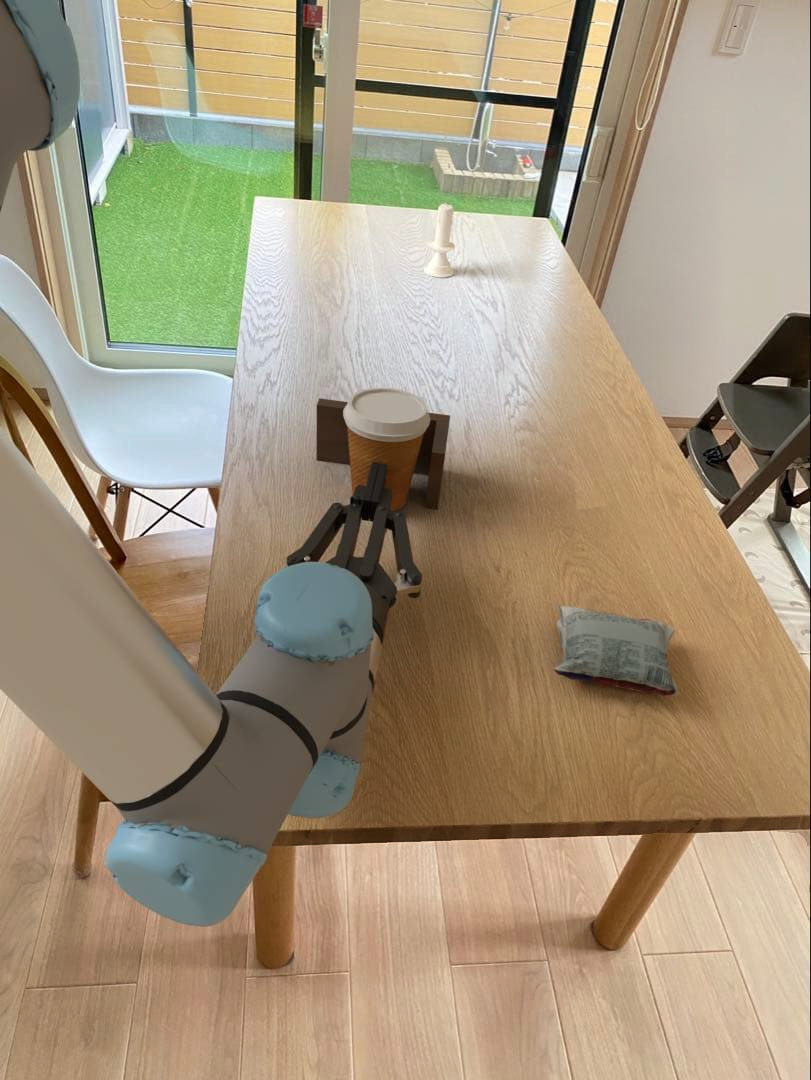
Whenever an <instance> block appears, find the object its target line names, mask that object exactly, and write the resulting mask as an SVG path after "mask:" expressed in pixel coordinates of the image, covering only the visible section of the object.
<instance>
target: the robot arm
mask: <svg viewBox="0 0 811 1080" xmlns="http://www.w3.org/2000/svg"><path fill="white" fill-rule="evenodd" d="M60 8H61V7H60V4H59V0H0V212H1V211H2V208H3V204H4V201H5V197H6V195H7V190H8V187H9V184H10V181H11V177H12V173H13V171H14V167H15V166H16V163H17V162H18V160H19V159H20V158H21V156H23V155H24V154H25V153H26V152H27V151H29V152H37V151H42V150H45V149H47V148H49V147H50V146H52V145H53V143H54V142H55V141H56V140H57V138H60V137H61V136H62V135H64V134H65V133H66V132H67V130H68V129H69V127H71V125H72V123H73V121H74V119H75V117H76V114H77V112H78V109H79V108H78V107H79V101H80V93H81V72H80V62H79V56H78V52H77V48H76V43H75V38H74V36H73V33H72V29H71V27H70V26H69V25H68V23H67V22H66V21H65V19H64V17H63V15H62V13H61V12H62V11H61V9H60ZM386 469H387V464H383V463H380V465H379V463H375V462H372V465H371V469H370V473H369V477H368V481H367V485H366V486H362V485H358V486H357V487H356V488H355V491H354V495H353V494H352V495H350V498H349V504H346V505H343V503H341V502H333V503H332V504H331V505H330V506H329V508H328V509H327V510H326V512H325V513H324V515H323V516H322V518H321V519H320V520H319V522H318V523H317V525H316V526H315V527H314V529H312V532H311V533H310V535H308V538H307V539H306V540H305V542H304V543H303V544H302V546H301V547H299V548H298V549H297V550H295V551H293V552H292V553H291V554H289V555H288V556H287V557H286V567H284V568H282V569H280V570H278V571H276V572H275V573H274V574H273V575H271V576H270V577H269V578H268V579H267V580H266V581H265V582H264V584H263V586H262V587H261V588H260V591H259V594H258V596H257V604H256V612H255V616H254V628H255V631H256V635H255V638H254V639H253V641H252V643H251V644H250V645H249V647H248V649H246V651H245V653H244V654H243V656H242V657H241V658H240V660H239V661H238V662H237V663H236V665H235V667H234V668H233V669H232V671H231V672H230V674H229V676H228V677H227V678H226V680H225V681H224V682H223V684H222V685H221V687H220V688H219V690H218V692H217V693H216V694H215V692H214V691H213V690H212V688H211V687H210V686H209V685H208V684H207V683H206V681H205V679H204V678H203V677H202V676H201V675H200V673H199V672H198V671H197V670H196V668H195V667H194V666H193V665H192V664H191V662H190V661H189V660H188V659H187V657H186V656H185V655H184V654H183V652H182V651H181V650H180V649H179V647H178V646H177V645H176V644H175V642H174V641H173V640H172V638H170V636H169V635H168V634H167V633H166V631H165V630H164V629H163V628H162V626H161V625H160V624H159V622H158V621H157V620H156V619H155V617H154V616H153V615H152V614H151V612H150V611H149V610H148V609H147V607H145V605H144V604H143V602H142V601H141V600H140V599H139V598H138V596H137V595H136V594H135V592H134V591H133V590H132V589H131V587H130V586H129V584H127V583H126V581H125V580H124V579H123V578H122V577H121V575H120V574H119V573H118V571H117V569H115V568H114V566H113V565H112V564H111V563H110V561H109V560H108V559H107V557H106V556H105V555H104V554H103V553H102V551H101V550H100V549H99V547H98V546H97V545H96V544H95V543H94V541H93V540H92V539H91V538H90V537H89V535H88V534H87V533H86V531H85V530H84V529H83V528H82V526H80V524H79V523H78V522H77V521H76V519H75V517H73V515H72V514H71V512H69V510H68V509H67V508H66V507H65V505H64V504H63V503H62V502H61V500H60V499H59V498H58V497H57V495H56V494H55V493H54V491H53V490H52V489H51V488H50V486H49V485H48V484H47V482H45V480H44V479H43V478H42V477H41V475H40V474H39V473H38V472H37V470H36V469H35V467H33V465H32V464H31V463H30V462H29V460H28V459H27V458H26V457H25V455H24V454H23V453H22V451H20V449H19V448H18V447H17V446H16V444H15V443H14V442H13V441H12V439H11V438H10V437H9V436H8V434H7V433H6V432H5V430H4V429H3V428H2V427H1V426H0V690H1V691H2V693H3V694H4V695H5V696H7V698H8V699H9V700H10V701H11V702H13V704H14V705H15V706H16V707H17V708H18V709H19V710H20V711H21V712H22V713H23V714H24V715H25V716H26V718H28V719H29V720H30V721H31V722H32V723H33V724H34V725H35V726H36V727H37V728H38V729H39V730H40V731H41V732H42V733H43V734H44V735H45V737H47V738H48V739H49V740H50V741H51V742H52V743H53V744H54V745H55V747H57V748H58V749H59V751H61V752H62V753H63V754H64V756H66V758H67V759H69V761H70V762H72V764H73V765H74V766H75V767H76V768H77V769H78V770H79V771H80V773H82V774H83V775H84V776H85V777H86V778H87V779H88V780H89V781H90V782H91V783H92V784H93V785H94V786H95V787H96V788H97V789H98V790H99V792H101V793H102V794H103V795H104V796H105V797H106V798H107V799H108V801H110V802H111V804H113V806H114V807H115V808H116V809H117V811H118V812H119V813H120V815H121V816H122V817H123V819H124V820H123V821H122V822H120V824H119V825H117V826H116V828H115V831H116V833H115V835H114V836H113V838H112V840H111V842H110V843H109V845H108V847H107V848H106V851H105V856H104V860H105V866H106V867H107V869H108V871H109V872H110V873H111V875H112V877H113V881H114V882H115V883H116V884H117V886H118V887H119V888H120V889H121V890H122V891H123V892H125V893H126V894H127V895H128V896H129V897H130V898H132V899H133V900H134V901H136V902H137V903H139V904H140V905H142V906H143V907H145V908H147V909H148V910H149V911H151V912H153V913H155V914H156V915H159V916H161V917H163V918H165V919H168V920H170V921H173V922H175V923H178V924H182V925H185V926H192V927H197V928H198V927H199V928H206V927H207V928H208V927H212V926H216V925H218V924H220V923H222V922H223V921H225V920H226V919H227V918H228V917H229V916H230V915H231V914H232V913H233V911H234V910H235V908H236V906H237V905H238V903H239V902H240V901H241V899H242V897H243V895H245V893H246V891H247V890H248V888H249V886H250V884H251V883H252V882H253V880H254V878H255V877H256V875H257V874H258V872H259V870H260V869H261V867H262V866H263V865H265V863H266V861H267V859H268V853H269V851H270V849H271V847H272V845H273V843H274V841H275V839H276V838H277V836H278V834H279V832H280V830H281V828H282V826H283V825H284V822H285V821H286V819H287V817H288V815H289V816H294V817H300V818H306V819H323V818H328V817H331V816H334V815H336V814H339V813H340V812H342V811H343V810H345V809H346V808H347V807H348V805H349V804H350V803H351V801H352V799H353V796H354V792H355V787H356V783H357V779H358V776H359V775H360V774H361V769H362V767H361V762H362V761H361V760H362V755H363V749H364V745H365V738H366V734H367V727H368V721H369V714H370V708H371V702H372V696H373V693H374V688H375V683H376V678H377V673H378V669H379V664H380V659H381V658H380V657H381V653H382V645H383V643H384V637H385V633H386V626H387V620H388V615H389V611H390V610H391V608H393V607H394V606H395V604H396V603H397V598H400V597H403V596H406V595H407V596H408V597H409V598H410V599H417V598H419V597H420V596H421V588H422V582H423V581H422V580H423V574H422V573H421V571H420V570H419V568H418V566H417V565H416V564H415V562H414V557H413V551H412V546H411V539H410V535H409V528H408V523H407V516H406V513H405V512H404V511H402V510H396V511H391V510H390V508H391V503H392V490H391V489H386V488H385V483H386ZM362 521H366V522H372V524H371V528H370V532H369V537H368V541H367V545H366V546H365V550H364V554H363V556H361V557H360V556H354V554H355V550H356V546H357V541H358V538H359V533H360V530H361V525H362ZM343 525H344V526H343ZM342 527H343V529H342V533H341V536H340V540H339V543H338V546H337V548H336V553H335V555H334V556H333V557H332V558H330V559H328V560H327V561H325V562H324V561H320V560H321V559H322V557H323V555H324V554H325V552H326V551H327V550H328V548H329V546H330V545H331V544H332V542H333V541H334V539H335V538H336V536H337V535H338V533H339V532H340V531H341V528H342ZM387 531H391V536H392V543H393V549H394V558H395V564H396V570H397V574H396V575H395V582H394V581H393V580H392V578H391V577H390V576H389V574H388V573H387V572H386V570H385V569H384V568H383V565H381V564H380V560H381V556H382V552H383V551H382V550H383V546H384V541H385V537H386V533H387Z"/></svg>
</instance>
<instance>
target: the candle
mask: <svg viewBox="0 0 811 1080" xmlns="http://www.w3.org/2000/svg"><path fill="white" fill-rule="evenodd" d="M437 209H438V211H437V218H436V226H435V227H436V228H435V236H434V240H431V241H429V242H428V244H427V245H428V247H429V248H430V249H431V250H433V251H434V252H435V253H434V255H433V257H432V258H431V259H430V260H429V261H428V264H427V265H426V266H424V268H423V271H424V273H425V274H426V275H428V276H430V277H434V278H440V279H441V278H442V279H443V278H450V277H452V276H453V275H454V273H455V271H454V270H453V268H452V267H451V262H450V261H449V260H448V257H447V253H448V252H450V251H453V250H455V248H456V245H455V244H454V243H453V242H451V241H450V239H451V233H452V232H451V231H452V226H453V218H454V217H453V216H454V207H453V205H452V204H447V202H446V201H445V202H444V203H441V204H440V205H439V206H438V208H437Z"/></svg>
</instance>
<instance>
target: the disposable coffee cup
mask: <svg viewBox="0 0 811 1080" xmlns="http://www.w3.org/2000/svg"><path fill="white" fill-rule="evenodd" d="M347 402H348V404H347V405H346V406H345V408H344V410H343V416H344V419H345V422H346V424H347V428H348V441H349V455H350V464H349V466H350V467H349V468H350V479H351V489H352V490H351V492H352V496H353V495H354V491H355V488H356V487H357V486H358V485H362V486H366V485H367V481H368V477H369V473H370V469H371V465H372V462H375V463H379V465H380V463H383V464H387V469H386V483H385V488H386V489H391V490H392V503H391V508H390V510H391V511H393V512H395V511H399V510H400V509H402V508H403V507H404V506H405V505H406V503H407V500H408V495H409V492H410V487H411V484H412V480H413V476H414V474H415V473H414V469H415V465H416V461H417V457H418V453H419V450H420V446H421V442H422V438H423V434H424V432H425V431H426V429H427V427H428V426H429V423H430V416H429V414H428V413H429V412H428V406H427V403H426V402H425V401H424V400H423V399H422V398H421V397H419V396H418V395H416V394H414V393H412V392H408V391H406V390H403V389H398V388H393V387H392V388H391V387H371V388H365V389H362V390H358V391H357V392H355V393H353V394H351V396H350V397H349V399H348V400H347Z"/></svg>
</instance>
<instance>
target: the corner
mask: <svg viewBox="0 0 811 1080" xmlns="http://www.w3.org/2000/svg"><path fill="white" fill-rule="evenodd" d="M347 404H348V401H343V400H334V399H327V398H321V397H319V398H318V399H317V403H316V448H315V449H316V453H315V454H316V457H315V459H316V461H322V462H328V463H337V464H344V465H350V455H349V441H348V428H347V424H346V422H345V419H344V416H343V410H344V408H345V406H346V405H347ZM428 414H429V416H430V423H429V426H428V427H427V429H426V431H425V432H424V434H423V438H422V442H421V446H420V450H419V453H418V457H417V461H416V465H415V469H414V473H413V474H416V475H417V474H418V475H425V476H428V478H427V479H428V481H427V486H426V496H425V503H424V509H425V508H426V509H431V510H432V509H433V510H438V509H439V508H438V507H439V502H440V494H441V488H442V482H443V481H442V480H443V474H444V467H445V466H444V465H445V459H446V451H447V444H448V437H449V436H448V435H449V429H450V421H451V415H449V414H443V413H436V412H435V413H434V412H428Z"/></svg>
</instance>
